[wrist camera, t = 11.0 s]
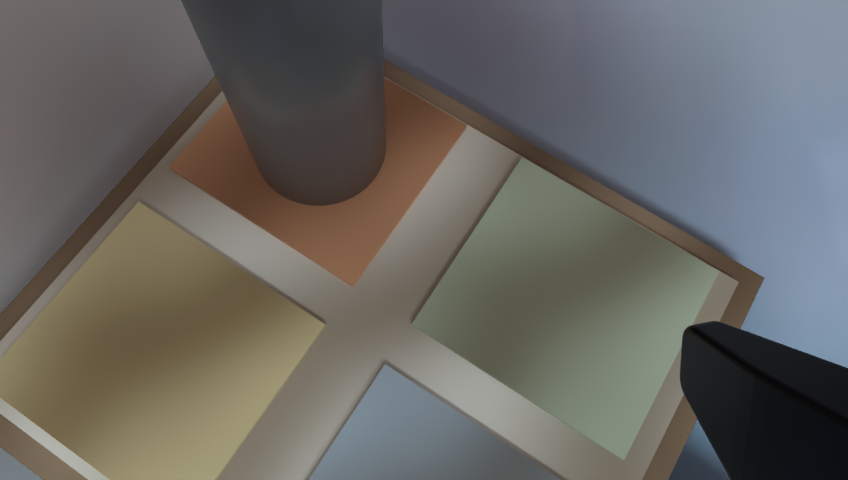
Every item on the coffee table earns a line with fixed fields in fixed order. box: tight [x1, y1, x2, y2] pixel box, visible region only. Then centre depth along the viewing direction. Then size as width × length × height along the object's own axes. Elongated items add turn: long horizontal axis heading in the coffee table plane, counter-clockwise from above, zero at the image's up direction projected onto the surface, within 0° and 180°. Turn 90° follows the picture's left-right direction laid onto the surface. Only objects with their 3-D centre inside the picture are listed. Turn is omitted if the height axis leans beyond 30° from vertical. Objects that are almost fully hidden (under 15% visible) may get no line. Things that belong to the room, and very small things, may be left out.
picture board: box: [0, 59, 764, 480], centre depth 17 cm, size 16×14×1 cm
